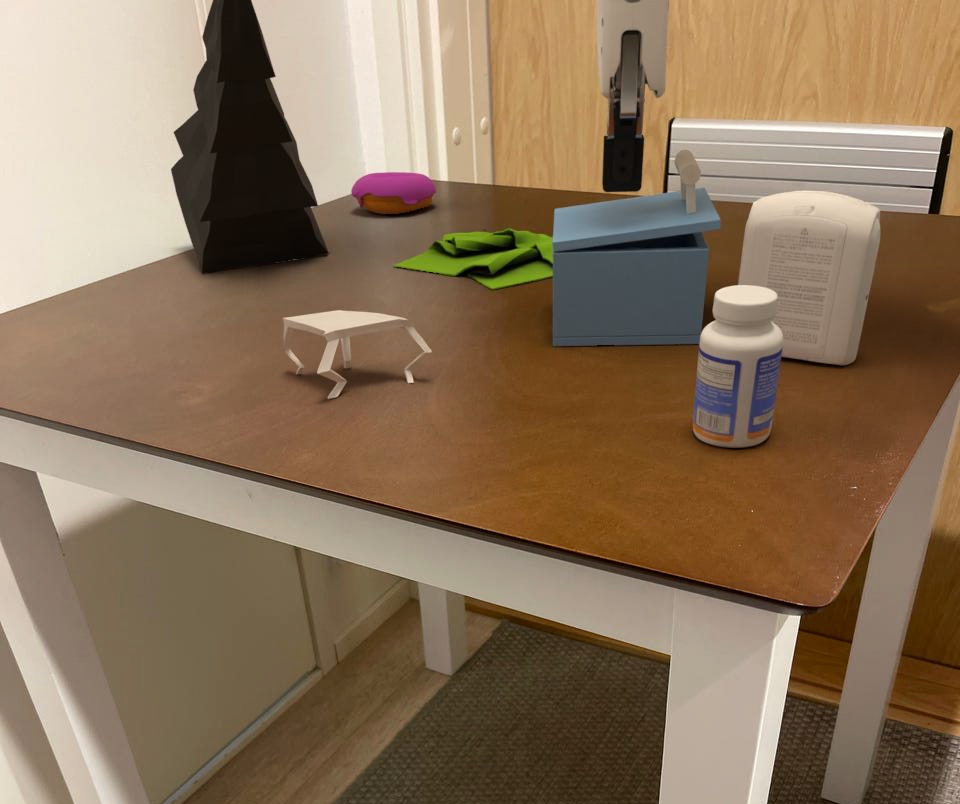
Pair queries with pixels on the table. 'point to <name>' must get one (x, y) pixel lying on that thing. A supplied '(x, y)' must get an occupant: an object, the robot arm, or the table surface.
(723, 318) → the pill bottle
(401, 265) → the cloth
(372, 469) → the table surface
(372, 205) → the donut
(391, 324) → the origami figure
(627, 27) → the robot arm
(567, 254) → the case
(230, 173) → the decorative tree
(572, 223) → the case lid
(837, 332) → the photo printer
